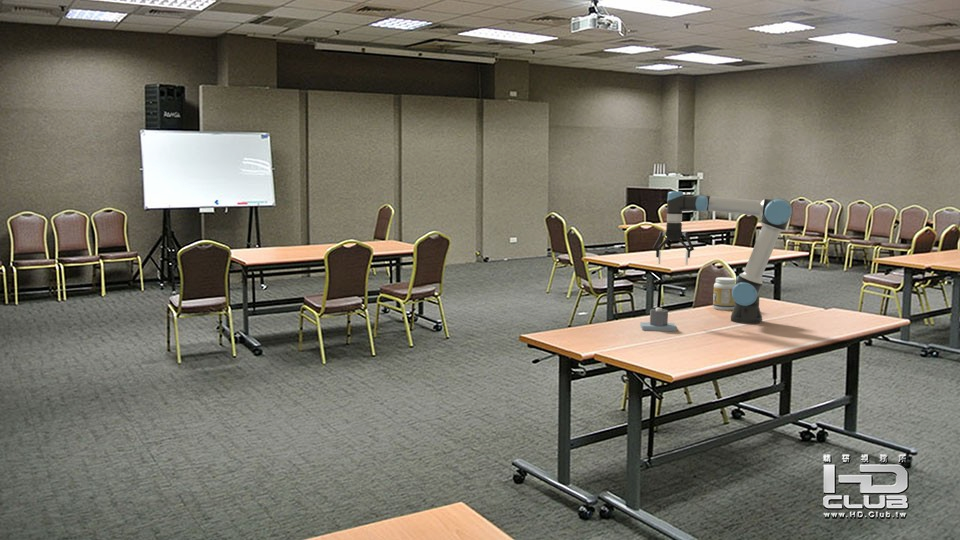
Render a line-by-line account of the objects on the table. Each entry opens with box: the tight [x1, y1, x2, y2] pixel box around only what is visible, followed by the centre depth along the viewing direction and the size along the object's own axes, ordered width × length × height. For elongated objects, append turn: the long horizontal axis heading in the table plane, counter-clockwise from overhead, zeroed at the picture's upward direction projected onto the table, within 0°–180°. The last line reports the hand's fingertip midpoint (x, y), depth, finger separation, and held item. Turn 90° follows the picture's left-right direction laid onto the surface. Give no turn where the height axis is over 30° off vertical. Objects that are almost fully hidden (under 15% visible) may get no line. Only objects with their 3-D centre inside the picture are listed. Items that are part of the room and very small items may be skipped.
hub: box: [649, 308, 669, 326], centre depth 383 cm, size 8×8×7 cm
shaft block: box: [640, 307, 678, 332], centre depth 384 cm, size 16×10×10 cm, turn 84°
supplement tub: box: [712, 276, 736, 311], centre depth 440 cm, size 12×12×17 cm
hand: (672, 264), depth 403 cm, fingers open, 13 cm apart
